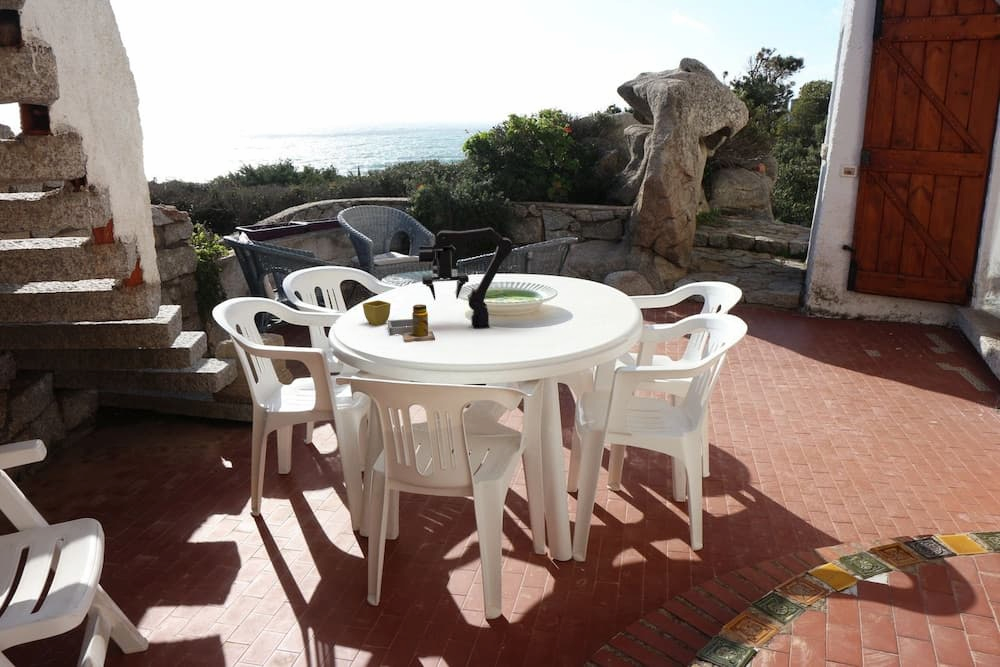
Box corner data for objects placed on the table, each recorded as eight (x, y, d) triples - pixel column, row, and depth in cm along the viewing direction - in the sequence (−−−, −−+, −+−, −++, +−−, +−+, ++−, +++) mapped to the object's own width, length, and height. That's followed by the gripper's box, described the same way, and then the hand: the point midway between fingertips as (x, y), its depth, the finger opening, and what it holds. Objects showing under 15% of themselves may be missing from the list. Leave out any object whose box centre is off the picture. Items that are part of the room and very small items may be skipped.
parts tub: (421, 325, 310) (421, 318, 309) (424, 333, 298) (424, 325, 297) (388, 327, 307) (387, 320, 307) (389, 335, 295) (389, 328, 294)
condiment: (432, 335, 290) (431, 306, 287) (413, 339, 286) (411, 309, 283) (424, 331, 296) (422, 302, 293) (405, 335, 292) (403, 305, 289)
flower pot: (392, 323, 314) (391, 302, 312) (375, 327, 308) (374, 306, 305) (379, 320, 320) (378, 300, 317) (363, 324, 314) (361, 303, 311)
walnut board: (432, 333, 297) (432, 331, 297) (435, 340, 287) (435, 337, 287) (402, 335, 295) (402, 333, 294) (404, 342, 285) (404, 339, 285)
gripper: (464, 257, 308) (465, 294, 312) (419, 259, 304) (421, 296, 308) (468, 262, 297) (469, 299, 301) (422, 264, 294) (424, 302, 298)
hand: (445, 299), depth 303 cm, fingers open, 9 cm apart
